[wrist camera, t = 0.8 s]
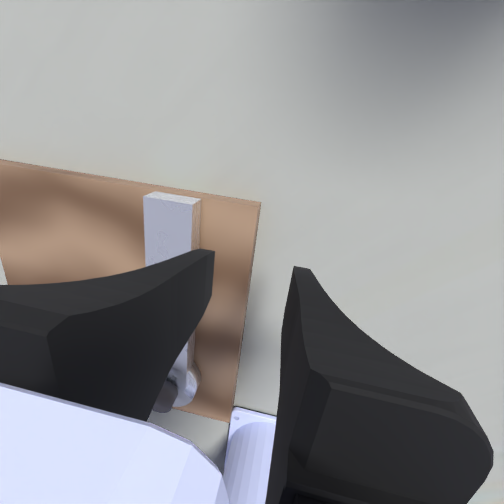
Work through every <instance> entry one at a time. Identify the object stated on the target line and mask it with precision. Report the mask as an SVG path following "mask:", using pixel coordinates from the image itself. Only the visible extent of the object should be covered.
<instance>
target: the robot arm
mask: <svg viewBox="0 0 504 504" xmlns="http://www.w3.org/2000/svg"><path fill="white" fill-rule="evenodd" d="M214 260H215V251H212V250H206V249H201V248H200V249H195V250H192V251H189V252H187V253H184V254H181V255H178V256H176V257H173V258H170V259H168V260H165V261H162V262H159V263H156V264H153V265H150V266H147V267H143V268H140V269H137V270H133V271H129V272H125V273H120V274H116V275H111V276H106V277H99V278H93V279H86V280H80V281H71V282H61V283H48V284H30V285H0V504H467V503H468V501H469V500H470V499H471V498H472V496H473V495H474V494H475V493H476V491H477V490H478V489H479V488H480V486H481V485H482V484H483V483H484V481H485V480H486V478H487V476H488V474H489V472H490V470H491V468H492V466H493V452H494V451H493V449H492V447H491V444H490V442H489V440H488V438H487V436H486V434H485V432H484V431H483V429H482V427H481V426H480V424H479V422H478V420H477V419H476V417H475V415H474V414H473V412H472V410H471V409H470V407H469V405H468V403H467V402H466V400H465V399H464V397H463V396H462V394H461V393H460V392H458V391H456V390H454V389H452V388H450V387H449V386H447V385H445V384H443V383H441V382H439V381H437V380H436V379H434V378H432V377H430V376H428V375H426V374H425V373H423V372H421V371H419V370H417V369H416V368H414V367H413V366H411V365H409V364H408V363H406V362H405V361H403V360H402V359H400V358H398V357H397V356H395V355H394V354H392V353H391V352H389V351H388V350H387V349H385V348H384V347H382V346H381V345H380V344H378V343H377V342H376V341H374V340H373V339H372V338H371V337H369V336H368V335H367V334H365V333H364V332H363V331H362V330H361V329H359V328H358V327H357V326H356V325H355V324H354V323H353V322H352V321H351V320H350V319H349V318H348V317H347V316H346V315H345V314H344V313H343V312H342V311H341V310H340V309H339V308H338V307H337V306H336V304H335V303H334V302H333V301H332V300H331V299H330V297H329V296H328V295H327V293H326V292H325V291H324V289H323V288H322V287H321V285H320V284H319V282H318V281H317V279H316V277H315V276H314V274H313V273H312V271H311V270H310V269H307V268H302V267H296V266H294V268H293V273H292V278H291V283H290V287H289V292H288V297H287V302H286V307H285V312H284V319H283V326H282V333H281V369H280V393H279V402H278V410H277V417H275V416H271V415H267V414H263V413H259V412H255V411H251V410H247V409H243V408H239V407H235V408H233V410H232V414H231V421H230V428H229V436H228V443H227V451H226V458H225V465H224V469H225V470H224V474H223V477H222V474H221V472H220V471H219V469H218V467H217V465H215V464H214V463H213V462H212V461H211V460H210V459H209V458H208V457H207V456H206V455H205V454H204V453H203V452H202V451H201V450H200V449H199V448H198V447H197V446H196V445H195V444H194V443H193V442H192V441H190V440H188V439H186V438H184V437H182V436H179V435H177V434H175V433H173V432H171V431H168V430H166V429H164V428H162V427H160V426H157V425H155V424H152V423H149V422H146V421H147V419H148V417H149V415H150V413H151V410H152V408H153V406H154V404H155V402H156V399H157V397H158V395H159V393H160V391H161V389H162V387H163V385H164V382H165V380H166V378H167V376H168V374H169V372H170V370H171V368H172V366H173V365H174V363H175V361H176V359H177V358H178V356H179V354H180V353H181V351H182V349H183V348H184V346H185V345H186V343H187V341H188V340H189V338H190V337H191V335H192V333H193V332H194V330H195V328H196V327H197V325H198V323H199V322H200V320H201V318H202V317H203V315H204V313H205V311H206V308H207V306H208V304H209V301H210V299H211V296H212V287H213V274H214Z"/></svg>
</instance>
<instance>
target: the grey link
mask: <svg viewBox="0 0 504 504" xmlns="http://www.w3.org/2000/svg"><path fill="white" fill-rule="evenodd" d="M143 210H144V236H145V263H146V267H147V266H150V265H153V264H156V263H159V262H162V261H165V260H168V259H170V258H173V257H176V256H178V255H181V254H184V253H187V252H189V251H192V250H195V249H199V240H200V220H201V199H199V198H193V197H187V196H181V195H175V194H169V193H163V192H157V191H155V192H152V193H150V194H147V195H145V196H143ZM194 344H195V330H194V332H193V333H192V335H191V337H190V338H189V340H188V341H187V343H186V345H185V346H184V348H183V349H182V351H181V353H180V354H179V356H178V358H177V359H176V361H175V363H174V365H173V366H172V368H171V370H170V372H169V374H168V376H167V378H166V381H169V382H171V383H172V384H174V385H175V386H176V388H177V389H178V396H177V398H176V400H175V402H174V404H173V406H172V407H181V406H185V405H187V404H189V403H190V402H191V401H192V399H193V398H194V395H195V393H196V391H197V388H198V386H199V384H200V381H201V373H200V370H199V368H198V367H197V365H196V364H195V363H194Z"/></svg>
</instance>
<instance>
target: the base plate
mask: <svg viewBox="0 0 504 504" xmlns="http://www.w3.org/2000/svg"><path fill="white" fill-rule="evenodd" d="M155 191H157V192H163V193H169V194H175V195H181V196H187V197H193V198H199V199H201V220H200V240H199V249H200V248H201V249H206V250H212V251H215V260H214V274H213V287H212V296H211V299H210V301H209V304H208V306H207V308H206V311H205V313H204V315H203V317H202V318H201V320H200V322H199V323H198V325H197V327H196V328H195V344H194V363H195V364H196V365H197V367H198V368H199V370H200V373H201V381H200V384H199V386H198V388H197V391H196V393H195V395H194V398H193V399H192V401H191V402H190V403H189V404H187V405H185V406H181V407H172V406H173V404H174V402H175V400H176V398H177V396H178V389H177V388H176V386H175V385H174V384H172V383H171V382H169V381H166V380H165V382H164V385H163V387H162V389H161V391H160V393H159V395H158V397H157V399H156V402H155V404H154V406H153V408H152V409H153V410H154V411H157V412H160V413H166V412H169V411H170V410H171V408H174V409H177V410H181V411H185V412H189V413H193V414H197V415H201V416H204V417H208V418H212V419H216V420H220V421H224V422H228V423H229V422H230V419H231V414H232V410H233V404H234V397H235V390H236V382H237V375H238V368H239V360H240V353H241V346H242V339H243V331H244V324H245V317H246V309H247V302H248V295H249V288H250V280H251V273H252V266H253V258H254V251H255V244H256V236H257V229H258V222H259V215H260V207H261V202H255V201H249V200H243V199H237V198H231V197H224V196H218V195H212V194H206V193H200V192H194V191H188V190H182V189H176V188H170V187H164V186H158V185H152V184H146V183H140V182H134V181H128V180H122V179H116V178H110V177H104V176H98V175H91V174H85V173H79V172H73V171H67V170H61V169H55V168H49V167H43V166H37V165H31V164H25V163H19V162H13V161H7V160H1V159H0V257H1V261H2V265H3V268H4V272H5V276H6V279H7V283H8V285H30V284H48V283H61V282H71V281H80V280H86V279H93V278H99V277H106V276H111V275H116V274H120V273H125V272H129V271H133V270H137V269H140V268H143V267H146V263H145V236H144V210H143V196H145V195H147V194H150V193H152V192H155Z"/></svg>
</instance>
